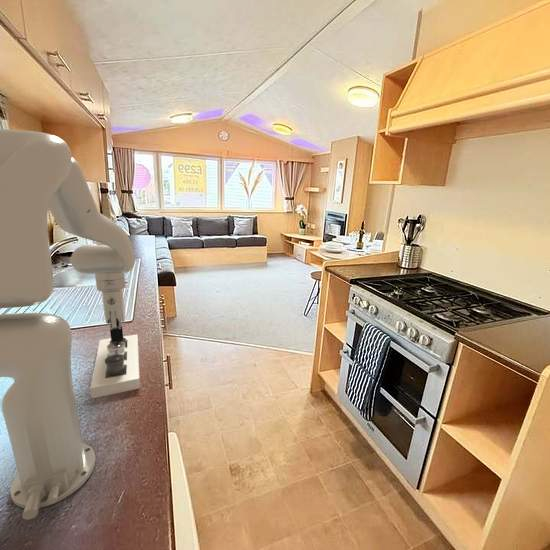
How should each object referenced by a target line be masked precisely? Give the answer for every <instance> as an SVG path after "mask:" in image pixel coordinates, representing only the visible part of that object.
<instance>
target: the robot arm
mask: <svg viewBox="0 0 550 550" xmlns="http://www.w3.org/2000/svg"><path fill="white" fill-rule="evenodd" d="M48 211H49V212H50V214H51V216H52V217H53V219H54V222H55V223H56V225H57V226H58V227H59V228H60V229H61V230H62V231H64V232H66V233H68V234H71V235H73V236H77V237H79V238H82V239H86V240H89V241H93V243H91V244H83V245H80V246H78V247H77V248H75V249H74V251H73V252H72V254H71V257H70V263H71V266H72V268H73V269H74V270H75V272H78V273H80V274H84V275H94V277H95V278H94V279H95V285H96V290H97V291H98V292H101V295H102V306H103V311H104V319H105V323H106V324H107V325H109V331H110V332H109V333H110V338H111V341H112V342H115V341H121V340H123V336H124V333H123V332H124V331H123V326H122V323H124V322H125V321H126V307H125V299H124V291H123V289H125V288H126V287H127V286H126V277H125V273H130V271H132V270H133V269H134V266H135V252H134V249H133V246H132V243H131V240H130V237H129V235H128V234H127V232H126V231H125V229H123V228H122V227H121V226H120V225H118V224H117V223H116V222H115V221H113V220H112V219H111V218H109V217H107V216H106V215H104V214H102V213H100V212H99V210H98V207H97V204H96V202H95V200H94V197H93V195H92V191H91V190H90V187H89V185H88V182H87V179H86V177H85V174H84V171H83V170H82V167H81V165H80V163H79V162H78V161H77V160H76V159H75V158H74V157H73V155H72V150H71V149H70V146H69V144H67V142H66V141H65V140H64V139H62V138H60V137H59V136H57V135H53V134H51V133H46V132H41V131H35V130H22V129H11V128H10V129H8V128H0V309H8V308H9V309H10V308H11V309H13V308H24V307H25V308H26V307H31V306H36V305H39V304H40V305H41V304H42V303H45V302H46V301H47V300H48V299H49V298H50V297H51V296H52V292H53V289H54V272H53V264H52V254H51V247H50V240H49V239H50V238H49V232H48V231H49V230H48ZM72 337H73V333H72V329H71V326H70V324H69V322H68V321H66V319H64V318H63V317H61V316H59V315H55V314H53V313H43V312H28V313H27V312H25V313H24V312H23V313H3V314H0V378H12V380H13V383H12V384H11V385H10V387H9V388H8V389H7V390H6V392H5V394H4V396H3V398H2V401H1V411H2V414H3V415H2V416H3V418H4V419H3V420H4V422H5V426H6V430H7V435H8V438H9V443H10V446H11V450H12V453H13V457H14V458H13V459H14V461H15V466H16V469H17V472H16V475H15V476H14V478H13V479H12V482H11V484H10V488H9V493H10V498H11V500H12V502H13V504H15V505H16V506H17V507H19V508H21V509H23V512H22V515H21V516H22V518H23V519H24V520H32V519H34V518H36V517H37V516H38V514H39V511H40V508H45V507H48V506H51V505H53V504H56V503H58V502H60V501H62V500H65V499H66V498H67V497H69V496H71V495H72V494H73V493H74V492H76V491H78V489H80V488H81V487H82V486H83V485H84V484H85V483H86V482H87V480H88V479H89V478H90V476H91V475H92V473H93V472H94V469H95V466H96V460H97V459H96V454H95V450H94V449H93V447H92V446H90V445H88V444H87V443H85V442H84V440H83V434H82V428H81V424H80V416H79V411H78V405H77V400H76V395H75V393H76V392H75V389H74V383H73V377H72V376H73V375H72V374H73V373H72V358H71V357H72V344H73V343H72V342H73V340H72V339H73V338H72Z"/></svg>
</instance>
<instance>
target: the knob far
mask: <svg viewBox="0 0 550 550" xmlns="http://www.w3.org/2000/svg"><path fill="white" fill-rule="evenodd" d="M115 342H124V343H125V347H124V348H126V338H124V337H123V340H121V341H115ZM111 343H113V342H112V341H110V344H111Z"/></svg>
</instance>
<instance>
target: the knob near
mask: <svg viewBox="0 0 550 550" xmlns="http://www.w3.org/2000/svg"><path fill="white" fill-rule="evenodd" d="M124 360H125V358H124V355H121V354H115V355H111V356H109V357H107V358H106V359H105V364H106V365H107V371H108V375H109V376H114V377H116V376H118V375H119V376H121V374H122V373H124V371H125V369H124Z"/></svg>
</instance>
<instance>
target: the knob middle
mask: <svg viewBox="0 0 550 550" xmlns="http://www.w3.org/2000/svg"><path fill="white" fill-rule="evenodd" d="M124 347H125V343H124V342H113V343H111V344H109V345H108V346H107V350H108V351H109V356H111V355H115V354H121V355H124V358H125V350H124Z"/></svg>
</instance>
